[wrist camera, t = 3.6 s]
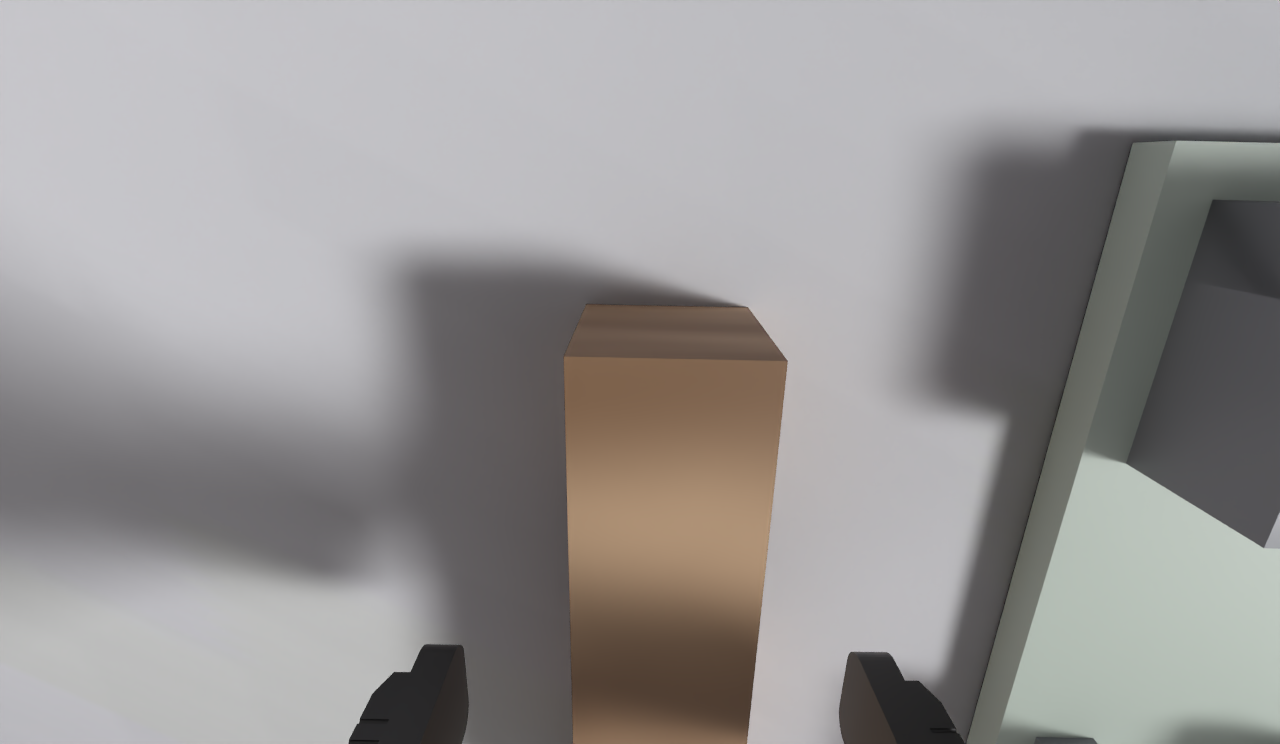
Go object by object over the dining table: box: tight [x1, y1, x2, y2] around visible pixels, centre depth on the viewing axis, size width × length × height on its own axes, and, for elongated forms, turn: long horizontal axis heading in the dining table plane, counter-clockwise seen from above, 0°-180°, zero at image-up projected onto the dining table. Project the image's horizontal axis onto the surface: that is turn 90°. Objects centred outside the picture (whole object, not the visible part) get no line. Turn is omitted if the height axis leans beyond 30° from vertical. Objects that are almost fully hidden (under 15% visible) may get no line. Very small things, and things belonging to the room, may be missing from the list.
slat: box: [564, 304, 788, 744], centre depth 13 cm, size 14×4×4 cm, turn 179°
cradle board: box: [966, 141, 1280, 744], centre depth 15 cm, size 21×10×1 cm, turn 179°
